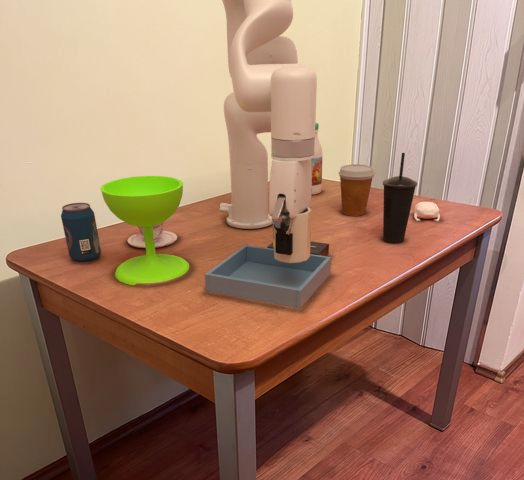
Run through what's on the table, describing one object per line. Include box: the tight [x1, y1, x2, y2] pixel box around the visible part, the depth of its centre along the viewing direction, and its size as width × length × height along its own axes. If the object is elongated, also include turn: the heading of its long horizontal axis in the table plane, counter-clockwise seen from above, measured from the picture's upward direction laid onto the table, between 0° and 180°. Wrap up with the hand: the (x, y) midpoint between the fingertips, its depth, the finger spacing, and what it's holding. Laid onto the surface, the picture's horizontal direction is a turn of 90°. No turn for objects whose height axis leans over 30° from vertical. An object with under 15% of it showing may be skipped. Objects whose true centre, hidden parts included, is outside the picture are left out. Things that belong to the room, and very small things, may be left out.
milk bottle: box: [311, 122, 323, 196], centre depth 163 cm, size 8×8×20 cm
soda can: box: [60, 202, 102, 265], centre depth 118 cm, size 7×7×12 cm
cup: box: [272, 206, 312, 263], centre depth 101 cm, size 7×7×9 cm
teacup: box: [126, 222, 178, 249], centre depth 130 cm, size 12×12×6 cm
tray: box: [204, 244, 332, 309], centre depth 107 cm, size 20×18×4 cm
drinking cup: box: [382, 152, 418, 244], centre depth 124 cm, size 8×8×20 cm
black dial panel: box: [266, 240, 330, 256], centre depth 119 cm, size 12×8×3 cm
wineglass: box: [99, 175, 190, 286], centre depth 110 cm, size 16×16×18 cm
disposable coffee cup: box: [338, 163, 376, 217], centre depth 145 cm, size 10×10×12 cm
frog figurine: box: [413, 201, 441, 222], centre depth 143 cm, size 8×7×4 cm
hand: (291, 246), depth 102 cm, fingers closed on cup, 6 cm apart
